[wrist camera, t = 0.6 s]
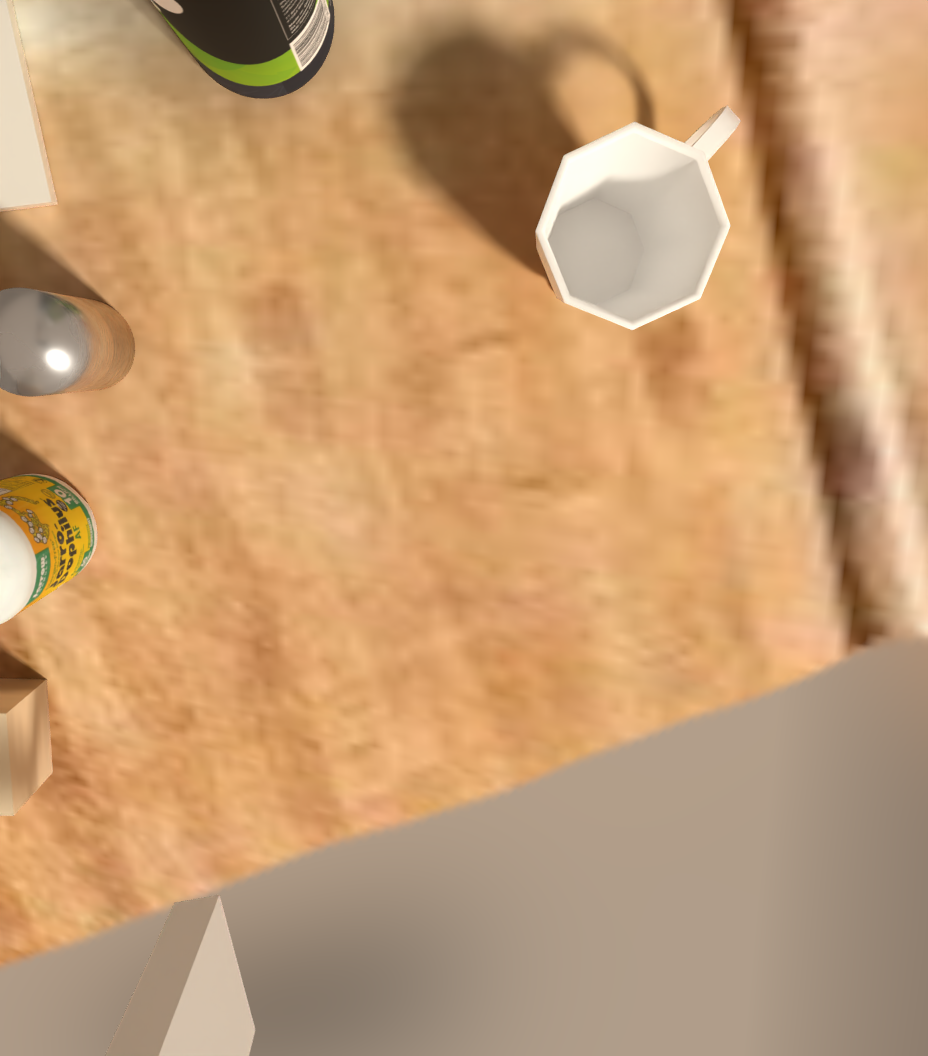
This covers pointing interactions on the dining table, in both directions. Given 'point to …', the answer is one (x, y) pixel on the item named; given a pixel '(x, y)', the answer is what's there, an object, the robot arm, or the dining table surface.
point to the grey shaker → (60, 343)
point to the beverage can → (254, 40)
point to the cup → (635, 222)
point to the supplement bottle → (40, 539)
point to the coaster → (19, 126)
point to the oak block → (23, 741)
